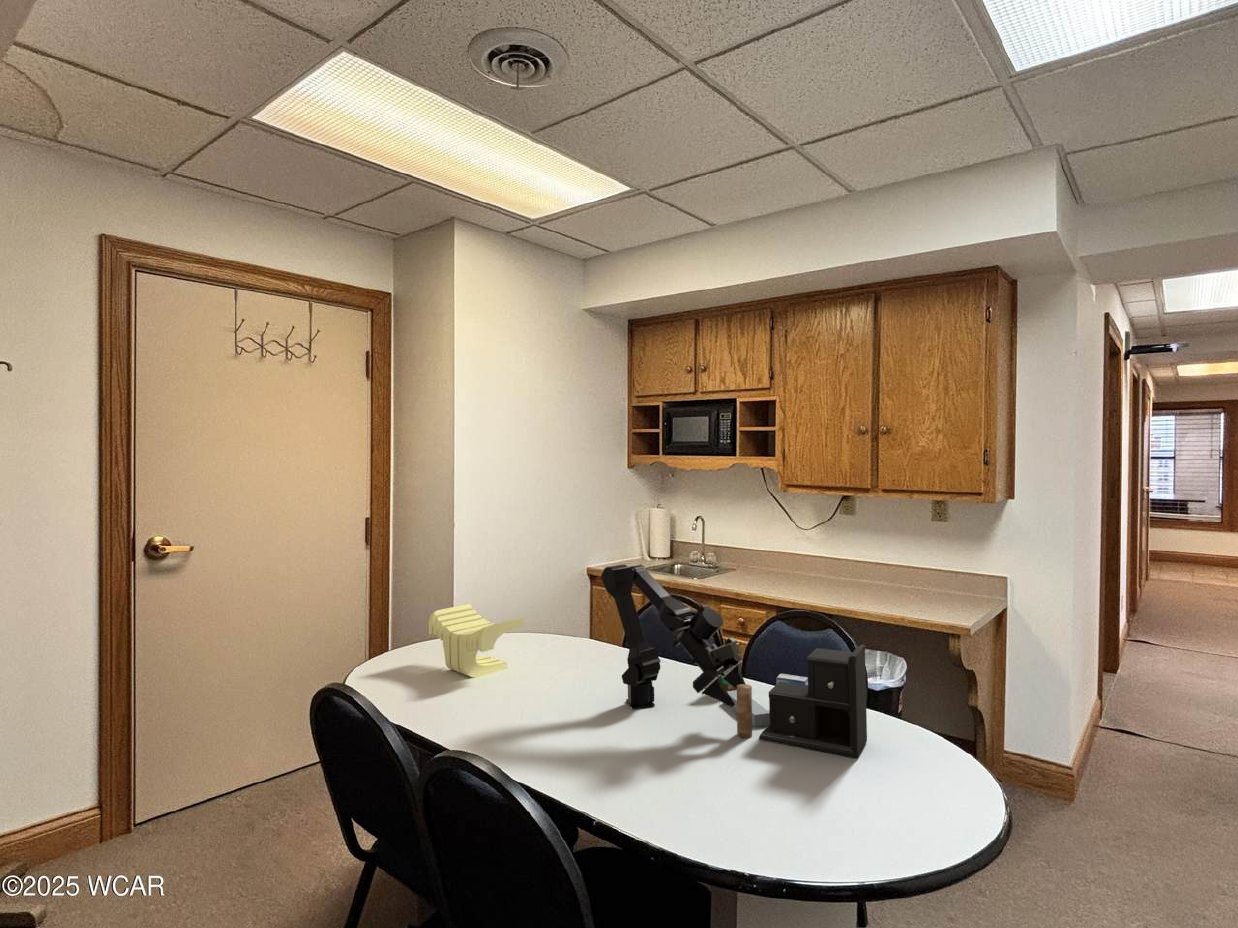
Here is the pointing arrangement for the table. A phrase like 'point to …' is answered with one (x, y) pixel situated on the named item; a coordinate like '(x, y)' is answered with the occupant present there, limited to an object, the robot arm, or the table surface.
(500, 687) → the table surface
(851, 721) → the black desk organizer
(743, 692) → the walnut dowel
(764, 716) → the ridge bar
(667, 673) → the table surface
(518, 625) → the slatted curved stool
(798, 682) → the medicine box
